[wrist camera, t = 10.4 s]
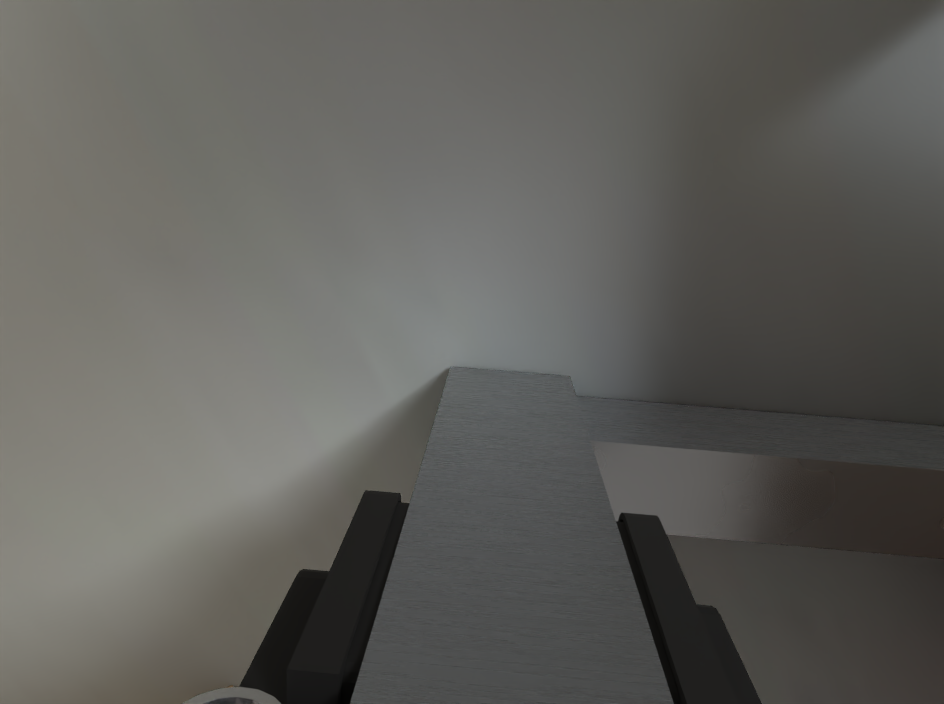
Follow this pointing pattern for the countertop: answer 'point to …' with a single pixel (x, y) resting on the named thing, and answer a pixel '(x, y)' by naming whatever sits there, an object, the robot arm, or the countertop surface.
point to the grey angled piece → (609, 530)
